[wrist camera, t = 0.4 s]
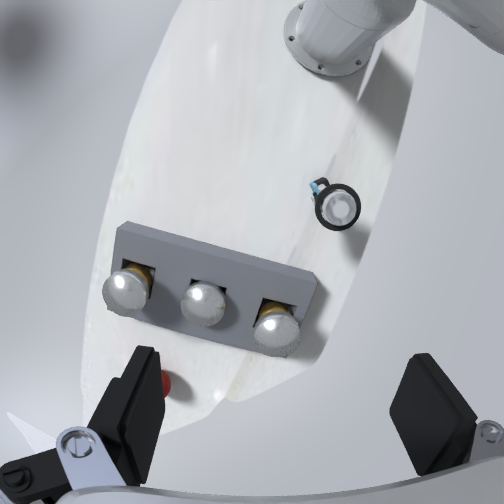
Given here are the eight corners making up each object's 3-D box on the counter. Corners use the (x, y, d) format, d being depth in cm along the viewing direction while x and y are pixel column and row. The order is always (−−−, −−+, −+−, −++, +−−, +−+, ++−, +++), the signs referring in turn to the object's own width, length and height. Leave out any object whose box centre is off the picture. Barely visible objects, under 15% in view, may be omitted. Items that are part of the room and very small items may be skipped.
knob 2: (260, 292, 44) (262, 314, 38) (300, 302, 44) (307, 324, 39) (249, 327, 45) (248, 351, 40) (287, 336, 46) (291, 360, 40)
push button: (349, 213, 44) (374, 231, 34) (316, 229, 45) (333, 251, 35) (330, 170, 42) (353, 177, 32) (296, 186, 43) (309, 197, 33)
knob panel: (127, 221, 44) (116, 227, 40) (312, 272, 47) (317, 283, 43) (116, 297, 48) (107, 309, 44) (284, 343, 50) (286, 358, 47)
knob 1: (121, 253, 42) (104, 269, 36) (160, 264, 42) (147, 282, 37) (117, 289, 44) (100, 308, 38) (153, 301, 44) (141, 322, 38)
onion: (166, 387, 54) (157, 418, 46) (138, 373, 53) (126, 402, 45) (179, 368, 52) (170, 399, 45) (150, 353, 51) (137, 382, 44)
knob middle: (193, 265, 46) (185, 282, 40) (232, 276, 46) (229, 294, 40) (185, 299, 47) (177, 319, 42) (222, 310, 48) (218, 331, 42)
